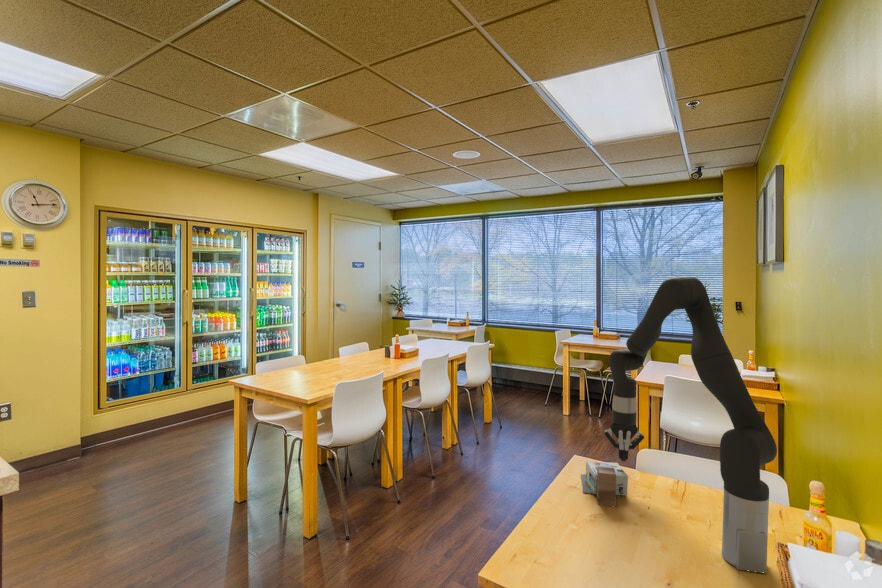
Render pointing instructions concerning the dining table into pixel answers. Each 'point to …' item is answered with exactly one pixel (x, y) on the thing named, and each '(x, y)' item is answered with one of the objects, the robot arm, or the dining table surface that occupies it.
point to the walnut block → (606, 486)
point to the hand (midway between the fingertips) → (623, 460)
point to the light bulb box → (620, 474)
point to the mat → (587, 486)
